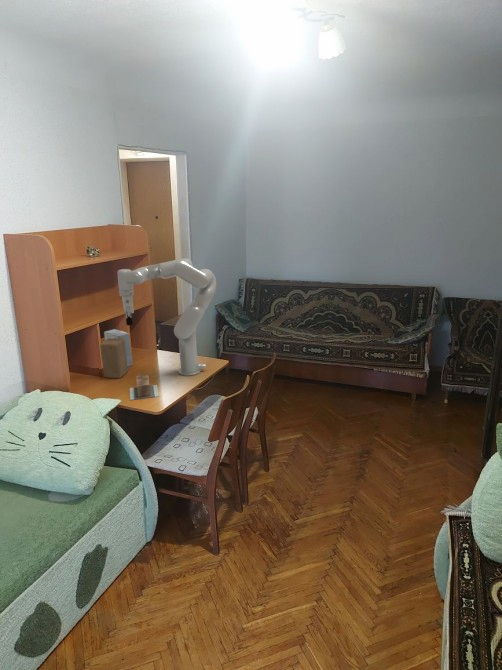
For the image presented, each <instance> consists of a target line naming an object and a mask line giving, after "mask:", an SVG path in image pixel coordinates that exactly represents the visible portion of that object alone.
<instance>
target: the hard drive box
mask: <svg viewBox="0 0 502 670" xmlns="http://www.w3.org/2000/svg"><path fill="white" fill-rule="evenodd" d="M103 335H104V341H105V340H107V339H124V342H125V351H126V360H127V368H130V367H131V366H133V357H132V356H133V355H132V348H131V340H130V339H131V338H130V333H128V332H126V331H122V330H119V329H115V328H114V329H110V330H106V331H104V332H103Z"/></svg>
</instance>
